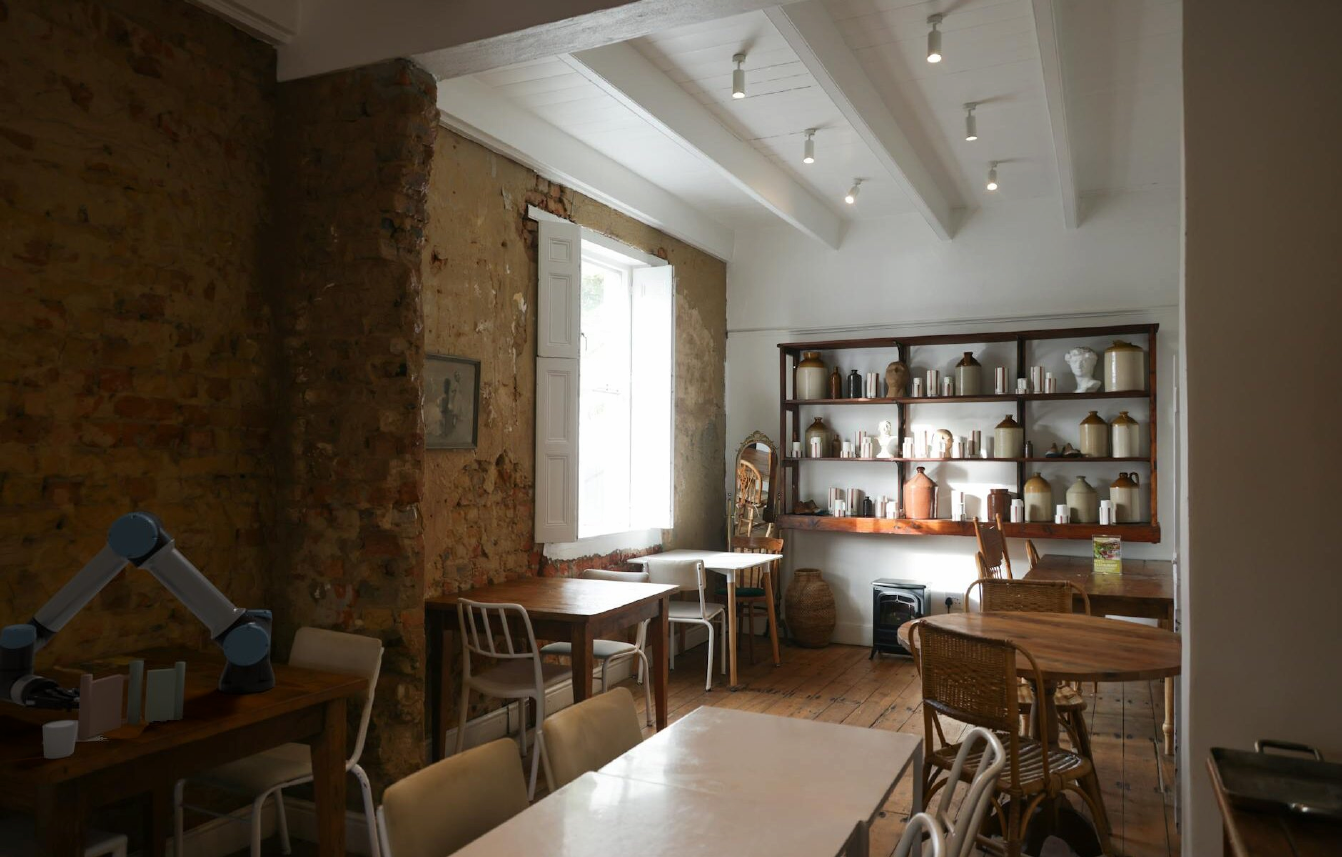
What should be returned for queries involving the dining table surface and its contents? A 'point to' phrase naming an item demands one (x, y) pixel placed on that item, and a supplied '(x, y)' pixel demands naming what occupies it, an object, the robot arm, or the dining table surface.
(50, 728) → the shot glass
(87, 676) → the gate panel
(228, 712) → the dining table surface
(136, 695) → the fence post and fixed panel
